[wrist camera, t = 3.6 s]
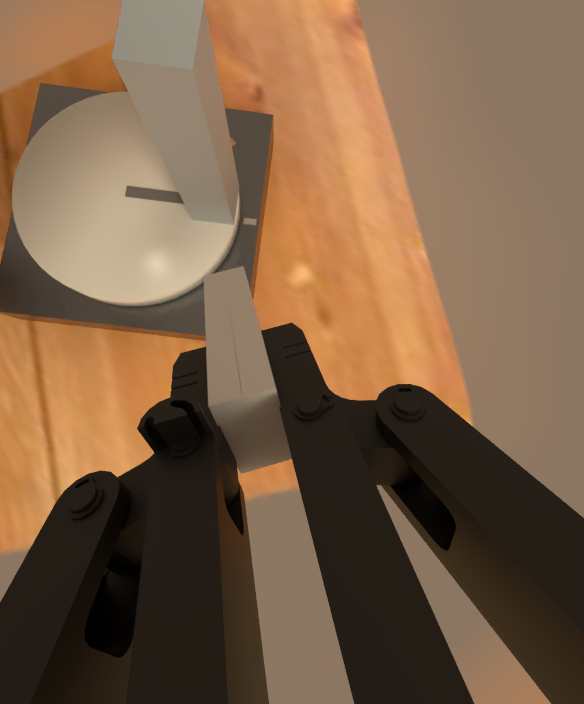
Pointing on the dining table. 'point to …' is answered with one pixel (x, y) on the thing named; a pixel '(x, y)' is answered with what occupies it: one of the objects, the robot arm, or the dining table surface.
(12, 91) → the dining table surface
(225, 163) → the dial
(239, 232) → the dial housing
